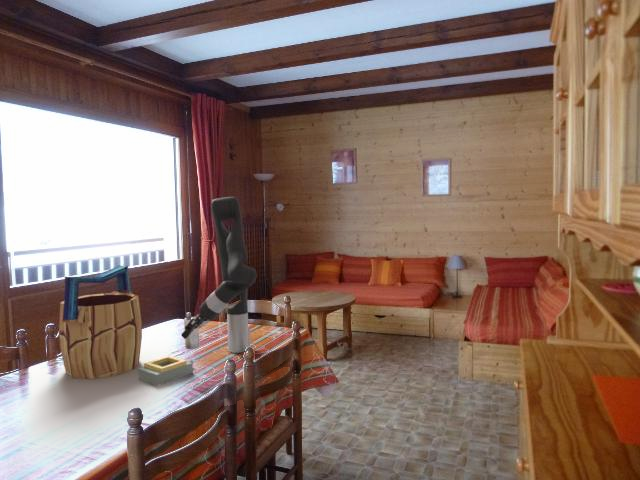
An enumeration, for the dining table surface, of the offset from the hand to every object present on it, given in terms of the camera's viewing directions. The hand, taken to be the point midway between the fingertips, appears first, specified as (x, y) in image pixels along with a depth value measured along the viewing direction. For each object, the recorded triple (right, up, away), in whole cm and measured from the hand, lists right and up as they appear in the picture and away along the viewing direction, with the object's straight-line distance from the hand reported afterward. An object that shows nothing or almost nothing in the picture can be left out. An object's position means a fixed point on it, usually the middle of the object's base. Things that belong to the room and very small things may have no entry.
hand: (187, 334), depth 177 cm
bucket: (-39, -17, +14) cm, 45 cm away
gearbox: (-8, -17, +5) cm, 19 cm away
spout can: (+2, -5, 0) cm, 5 cm away
